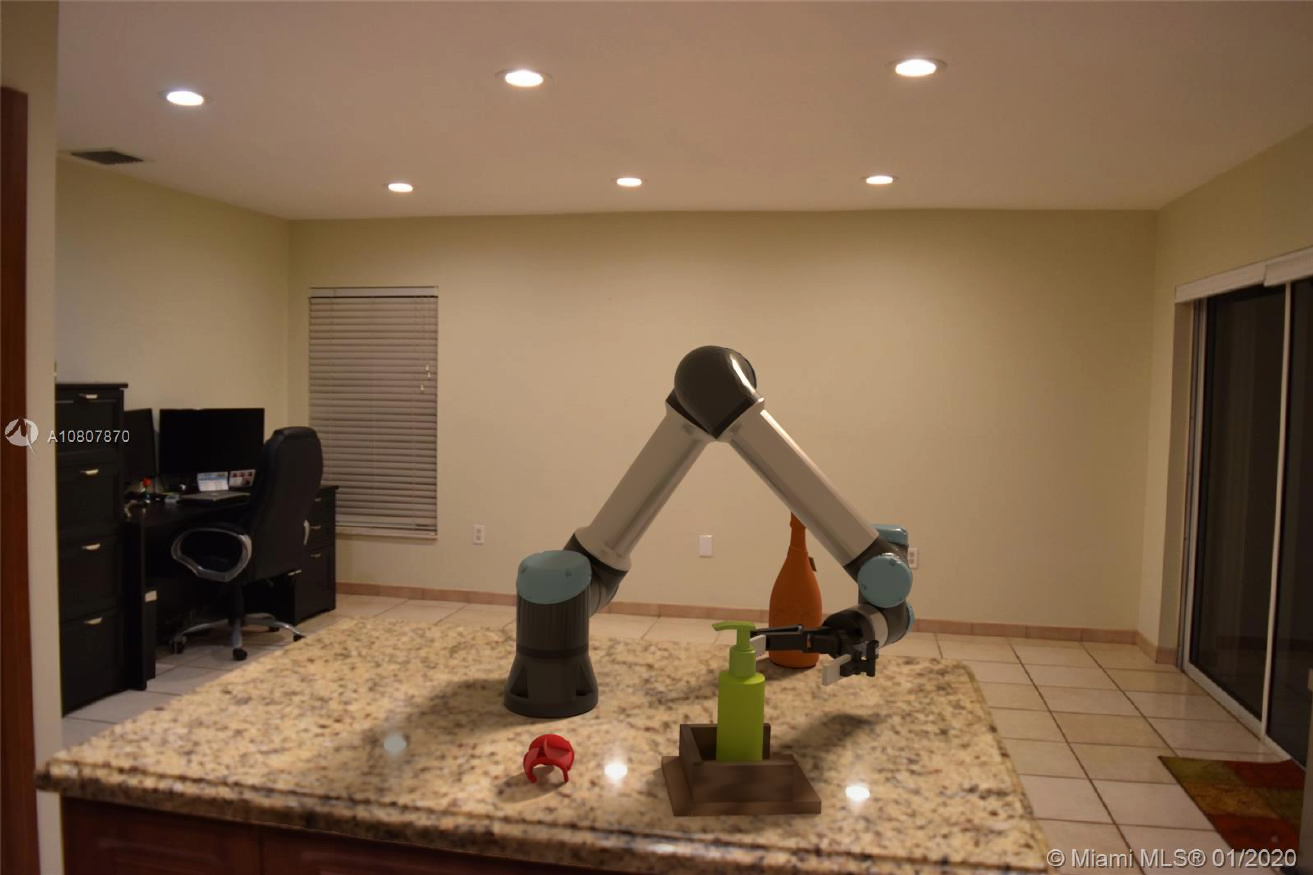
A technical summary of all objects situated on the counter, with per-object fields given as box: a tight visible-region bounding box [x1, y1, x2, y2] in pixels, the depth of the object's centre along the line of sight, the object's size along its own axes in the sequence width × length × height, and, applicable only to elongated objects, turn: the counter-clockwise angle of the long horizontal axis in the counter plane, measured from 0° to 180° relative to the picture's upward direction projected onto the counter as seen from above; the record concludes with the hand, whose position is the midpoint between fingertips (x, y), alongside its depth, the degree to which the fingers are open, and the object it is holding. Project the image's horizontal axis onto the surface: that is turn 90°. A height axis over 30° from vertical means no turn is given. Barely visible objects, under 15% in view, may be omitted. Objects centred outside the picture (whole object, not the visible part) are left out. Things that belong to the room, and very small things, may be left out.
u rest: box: [660, 722, 822, 818], centre depth 116 cm, size 18×14×6 cm
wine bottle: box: [767, 511, 823, 669], centre depth 169 cm, size 10×10×30 cm
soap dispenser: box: [711, 620, 766, 762], centre depth 115 cm, size 6×7×20 cm
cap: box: [522, 733, 576, 784], centre depth 118 cm, size 8×6×6 cm
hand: (779, 664), depth 122 cm, fingers open, 13 cm apart
